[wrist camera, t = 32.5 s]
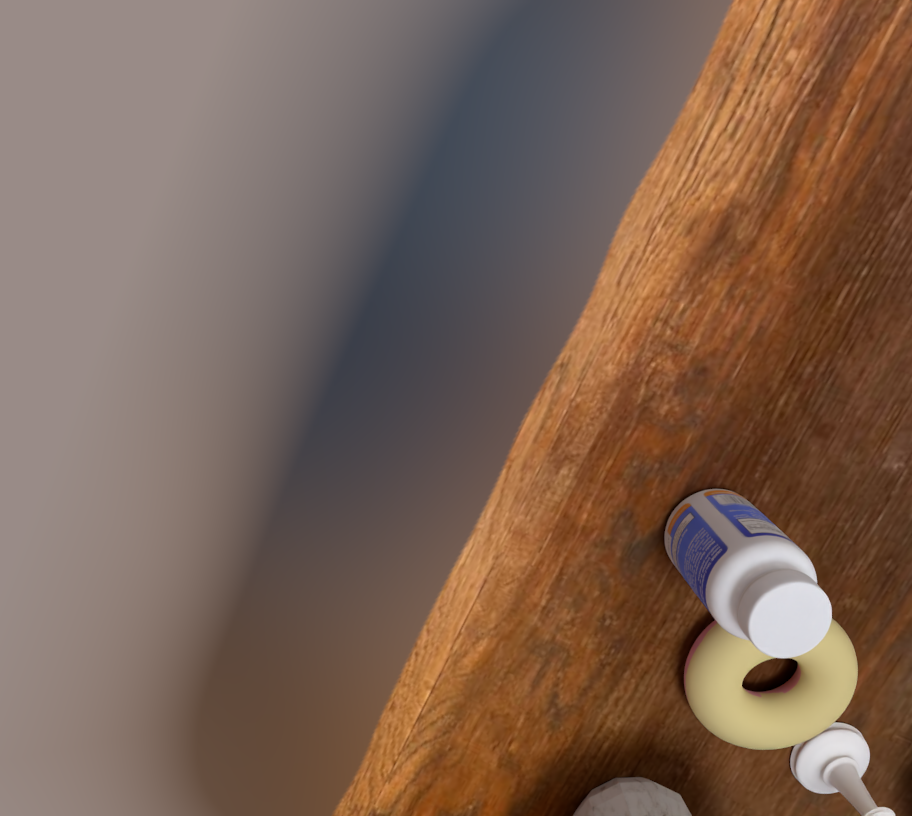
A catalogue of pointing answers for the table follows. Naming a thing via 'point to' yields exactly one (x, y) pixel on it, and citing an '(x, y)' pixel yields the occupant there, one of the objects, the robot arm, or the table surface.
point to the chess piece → (836, 766)
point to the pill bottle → (748, 573)
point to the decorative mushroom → (632, 799)
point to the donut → (775, 711)
